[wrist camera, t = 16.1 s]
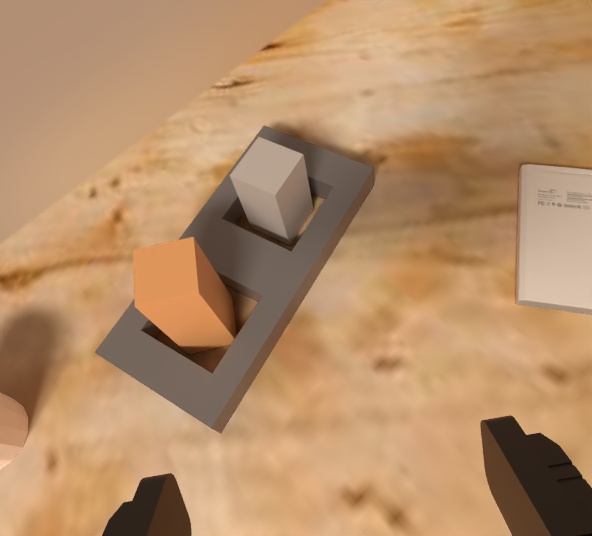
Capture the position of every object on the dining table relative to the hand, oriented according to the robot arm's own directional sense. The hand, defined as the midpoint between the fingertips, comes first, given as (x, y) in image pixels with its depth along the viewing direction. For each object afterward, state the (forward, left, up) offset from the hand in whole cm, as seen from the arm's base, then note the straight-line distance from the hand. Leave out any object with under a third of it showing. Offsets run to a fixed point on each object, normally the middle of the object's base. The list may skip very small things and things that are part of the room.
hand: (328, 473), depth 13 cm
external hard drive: (-25, +6, -23) cm, 35 cm away
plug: (-5, -16, -23) cm, 28 cm away
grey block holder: (-11, -16, -23) cm, 30 cm away
